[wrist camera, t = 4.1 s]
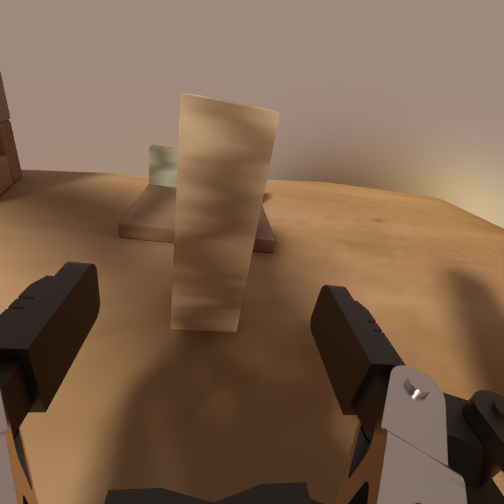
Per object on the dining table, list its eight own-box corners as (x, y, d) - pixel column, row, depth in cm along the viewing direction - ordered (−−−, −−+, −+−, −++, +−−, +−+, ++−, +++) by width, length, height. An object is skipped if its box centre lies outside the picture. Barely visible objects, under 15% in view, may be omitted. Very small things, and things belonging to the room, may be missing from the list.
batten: (170, 329, 19) (181, 93, 12) (178, 288, 23) (190, 93, 16) (236, 332, 20) (279, 112, 13) (233, 293, 24) (265, 108, 17)
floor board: (119, 237, 28) (115, 172, 25) (152, 190, 42) (152, 144, 39) (272, 252, 31) (286, 196, 28) (256, 203, 45) (263, 162, 42)
